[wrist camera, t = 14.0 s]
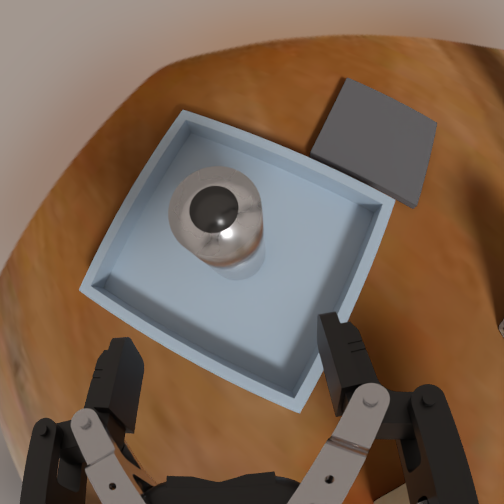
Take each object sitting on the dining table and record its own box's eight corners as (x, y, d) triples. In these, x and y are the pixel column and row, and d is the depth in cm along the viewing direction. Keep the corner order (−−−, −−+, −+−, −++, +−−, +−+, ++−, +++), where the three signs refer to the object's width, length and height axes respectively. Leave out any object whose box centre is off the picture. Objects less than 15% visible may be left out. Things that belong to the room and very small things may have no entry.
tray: (190, 127, 32) (182, 109, 29) (382, 211, 29) (395, 200, 26) (96, 293, 29) (78, 290, 26) (295, 402, 26) (299, 413, 23)
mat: (345, 82, 32) (347, 77, 31) (433, 127, 31) (437, 122, 30) (309, 156, 31) (310, 152, 30) (412, 208, 29) (416, 205, 28)
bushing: (225, 216, 29) (196, 153, 17) (275, 239, 28) (277, 186, 16) (199, 265, 28) (151, 231, 16) (250, 290, 27) (234, 273, 16)
